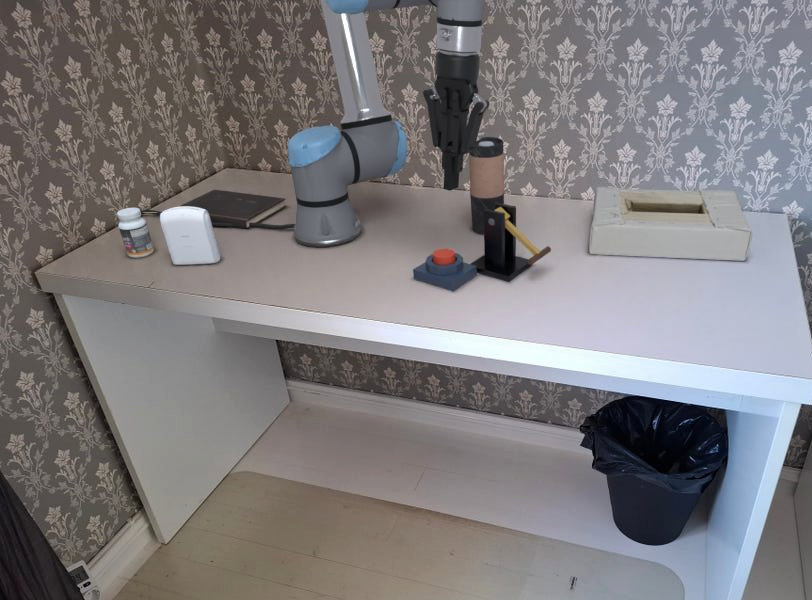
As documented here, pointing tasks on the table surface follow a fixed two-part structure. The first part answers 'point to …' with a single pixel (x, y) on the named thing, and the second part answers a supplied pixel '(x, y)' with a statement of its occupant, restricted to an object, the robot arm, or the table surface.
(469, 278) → the button box
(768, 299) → the table surface
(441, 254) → the red button
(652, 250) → the box
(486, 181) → the travel mug
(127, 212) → the pill bottle
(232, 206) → the hardcover book
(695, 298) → the table surface
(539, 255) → the tap lever
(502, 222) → the tap bracket
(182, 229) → the photo printer
